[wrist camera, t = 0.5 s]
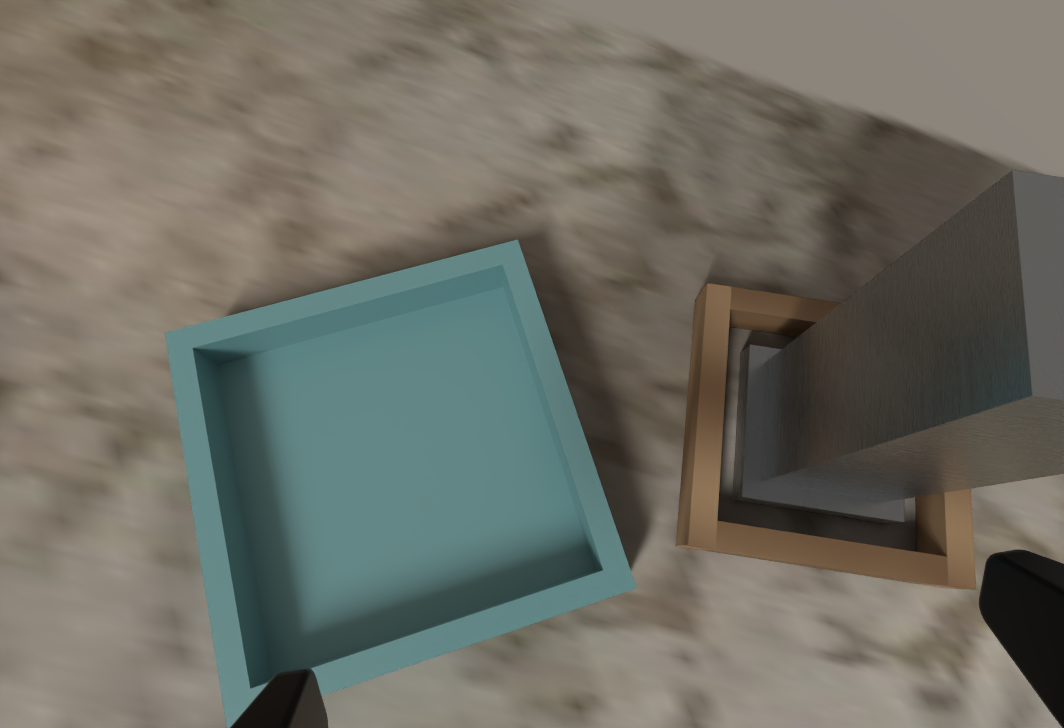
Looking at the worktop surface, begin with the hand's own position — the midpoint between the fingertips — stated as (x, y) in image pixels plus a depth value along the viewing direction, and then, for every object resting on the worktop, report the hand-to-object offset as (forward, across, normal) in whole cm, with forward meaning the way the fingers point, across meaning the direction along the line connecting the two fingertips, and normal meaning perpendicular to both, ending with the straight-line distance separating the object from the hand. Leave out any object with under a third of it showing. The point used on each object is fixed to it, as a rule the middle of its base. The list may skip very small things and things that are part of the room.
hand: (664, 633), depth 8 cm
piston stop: (+14, -10, +5) cm, 18 cm away
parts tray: (+14, +5, +4) cm, 16 cm away
